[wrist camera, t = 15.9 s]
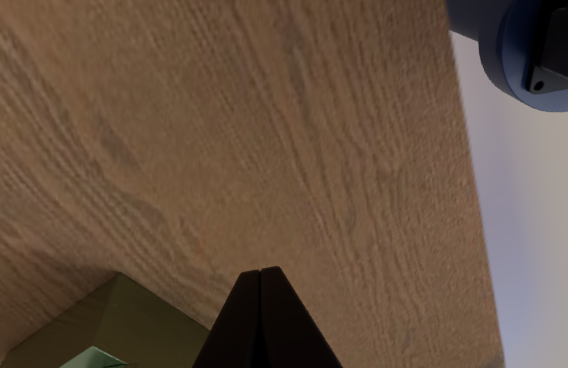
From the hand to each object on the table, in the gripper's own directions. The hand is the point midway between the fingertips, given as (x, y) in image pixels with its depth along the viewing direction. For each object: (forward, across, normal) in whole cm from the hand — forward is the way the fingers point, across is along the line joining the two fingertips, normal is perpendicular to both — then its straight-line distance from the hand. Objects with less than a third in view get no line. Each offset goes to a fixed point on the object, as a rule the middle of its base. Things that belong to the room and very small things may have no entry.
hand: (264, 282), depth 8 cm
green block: (+12, +14, +17) cm, 25 cm away
